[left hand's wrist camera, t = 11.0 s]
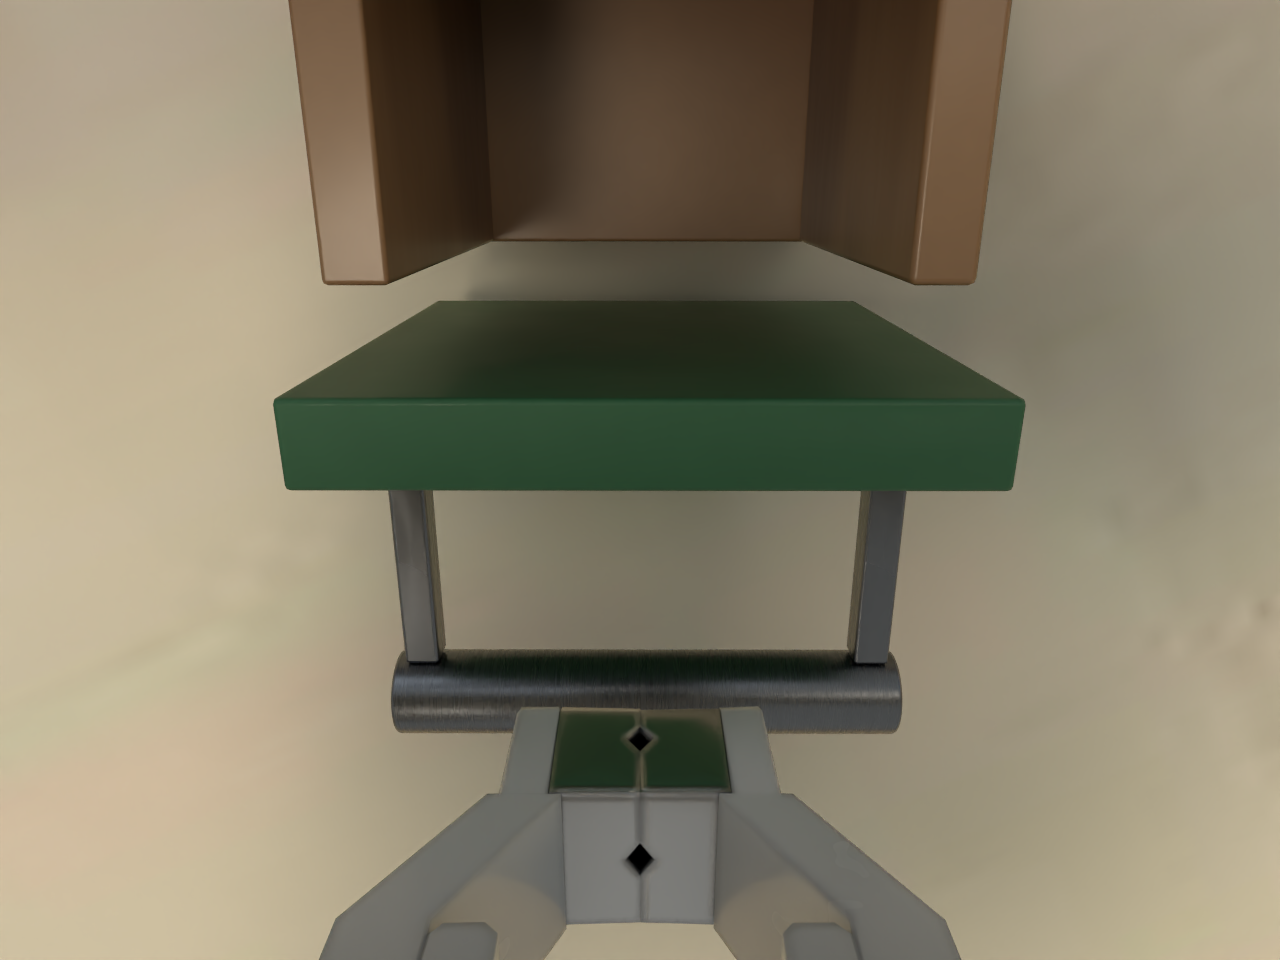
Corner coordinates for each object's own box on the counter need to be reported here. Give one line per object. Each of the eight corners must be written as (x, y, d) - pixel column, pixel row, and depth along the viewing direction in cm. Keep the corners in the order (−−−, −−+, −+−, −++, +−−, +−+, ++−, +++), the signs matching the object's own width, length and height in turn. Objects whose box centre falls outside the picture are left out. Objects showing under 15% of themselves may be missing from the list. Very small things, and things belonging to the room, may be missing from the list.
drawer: (831, 588, 21) (957, 858, 13) (458, 587, 21) (337, 857, 13) (912, -376, 15) (1262, -1094, 6) (383, -375, 15) (49, -1091, 6)
